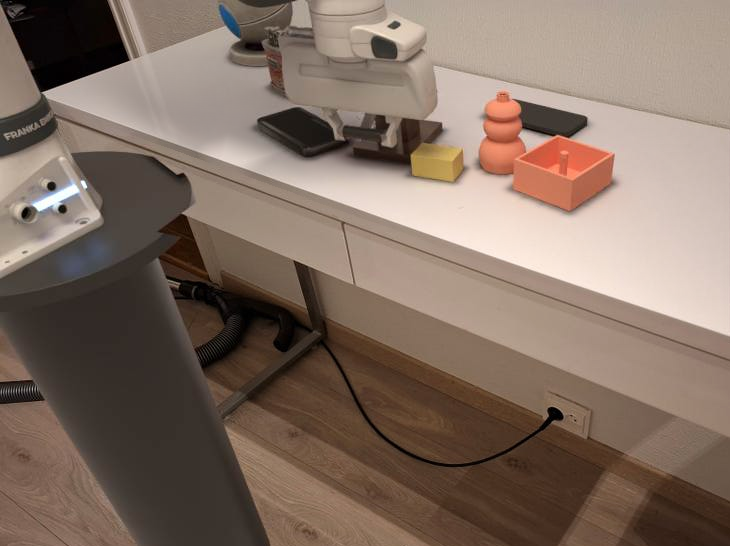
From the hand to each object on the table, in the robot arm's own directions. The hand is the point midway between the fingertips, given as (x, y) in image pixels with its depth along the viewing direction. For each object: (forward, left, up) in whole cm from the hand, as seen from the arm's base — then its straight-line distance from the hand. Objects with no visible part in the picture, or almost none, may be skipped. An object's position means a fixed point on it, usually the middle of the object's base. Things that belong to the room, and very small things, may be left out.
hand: (366, 142), depth 90 cm
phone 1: (+8, +15, -4) cm, 18 cm away
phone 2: (+24, -17, -4) cm, 30 cm away
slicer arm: (+6, 0, +4) cm, 7 cm away
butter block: (+3, -9, -4) cm, 10 cm away
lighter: (+23, +27, -5) cm, 36 cm away
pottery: (+6, -22, -5) cm, 23 cm away
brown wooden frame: (+10, 0, -4) cm, 11 cm away
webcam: (+38, +41, -5) cm, 56 cm away
